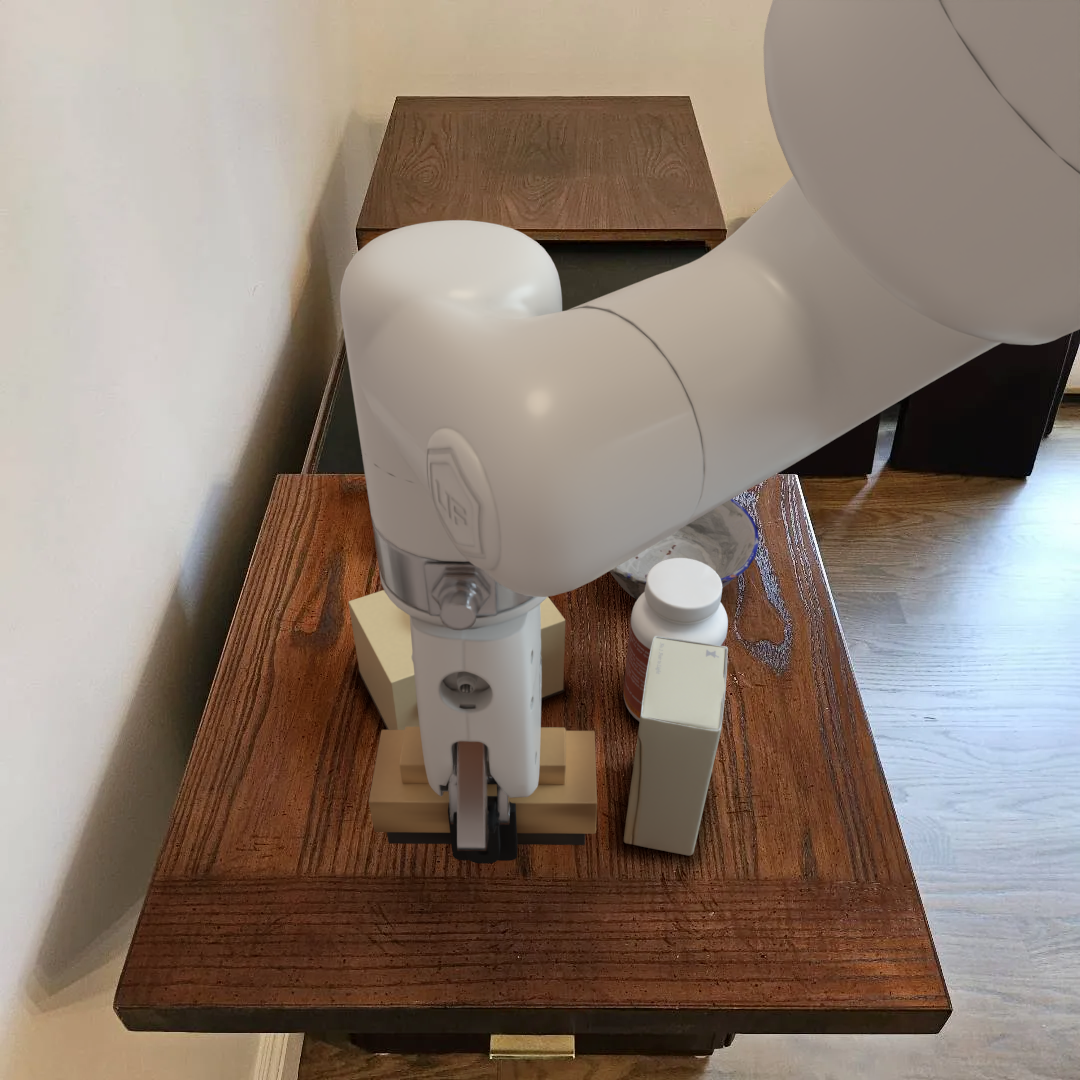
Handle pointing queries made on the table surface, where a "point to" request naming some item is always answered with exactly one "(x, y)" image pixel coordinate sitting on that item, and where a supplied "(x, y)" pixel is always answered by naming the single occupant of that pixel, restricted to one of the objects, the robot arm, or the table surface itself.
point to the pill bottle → (672, 617)
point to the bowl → (699, 548)
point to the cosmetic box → (676, 743)
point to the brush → (542, 818)
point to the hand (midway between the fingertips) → (488, 808)
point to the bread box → (392, 668)
